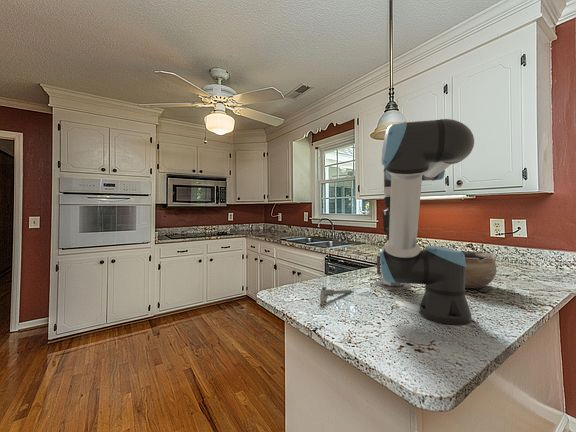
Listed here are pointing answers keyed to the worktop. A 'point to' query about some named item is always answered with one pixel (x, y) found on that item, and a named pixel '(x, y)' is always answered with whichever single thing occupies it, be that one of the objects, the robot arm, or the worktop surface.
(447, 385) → the worktop surface
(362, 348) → the worktop surface
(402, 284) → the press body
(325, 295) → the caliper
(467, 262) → the ceramic bowl
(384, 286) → the trivet
